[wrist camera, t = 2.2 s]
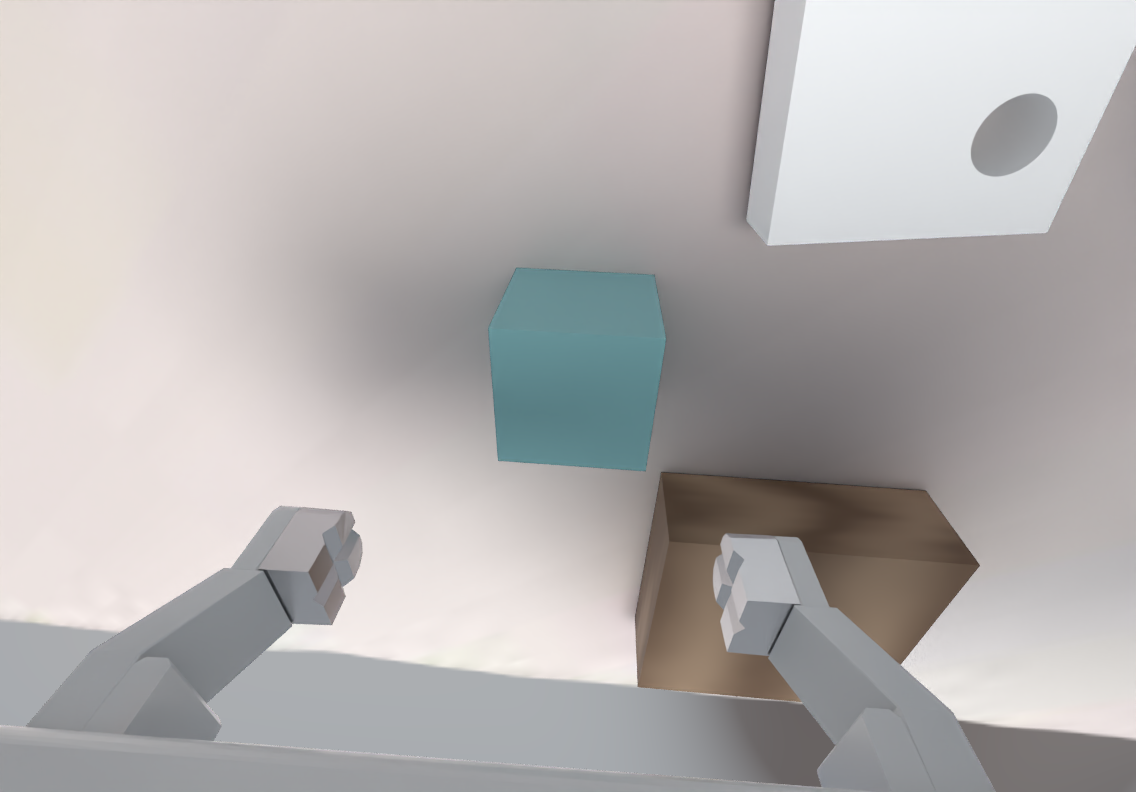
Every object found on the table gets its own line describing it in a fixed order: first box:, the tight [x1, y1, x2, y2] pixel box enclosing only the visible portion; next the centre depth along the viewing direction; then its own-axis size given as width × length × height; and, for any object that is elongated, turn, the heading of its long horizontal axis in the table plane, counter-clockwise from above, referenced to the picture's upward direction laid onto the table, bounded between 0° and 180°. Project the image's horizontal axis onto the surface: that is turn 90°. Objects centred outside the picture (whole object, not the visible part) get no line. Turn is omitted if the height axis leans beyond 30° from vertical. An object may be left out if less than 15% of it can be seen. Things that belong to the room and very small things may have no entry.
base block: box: [635, 472, 980, 702], centre depth 24 cm, size 12×12×4 cm
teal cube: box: [488, 268, 666, 471], centre depth 17 cm, size 5×5×5 cm
